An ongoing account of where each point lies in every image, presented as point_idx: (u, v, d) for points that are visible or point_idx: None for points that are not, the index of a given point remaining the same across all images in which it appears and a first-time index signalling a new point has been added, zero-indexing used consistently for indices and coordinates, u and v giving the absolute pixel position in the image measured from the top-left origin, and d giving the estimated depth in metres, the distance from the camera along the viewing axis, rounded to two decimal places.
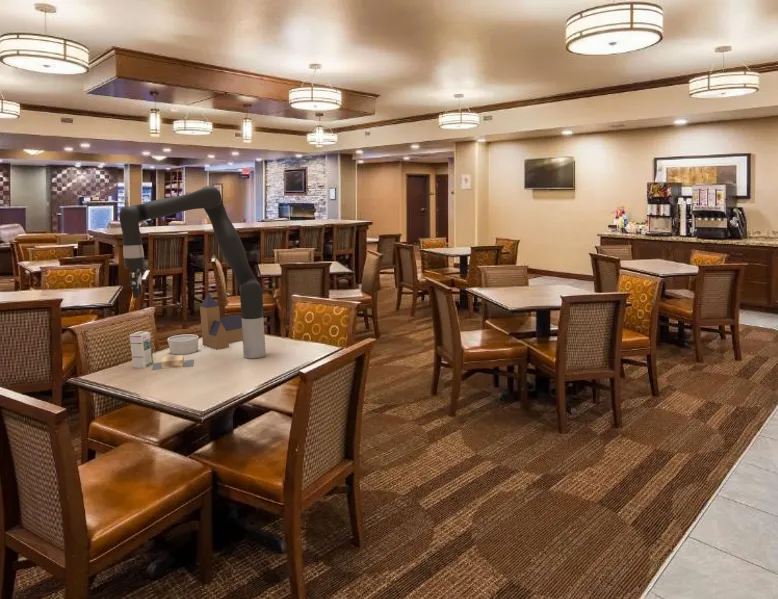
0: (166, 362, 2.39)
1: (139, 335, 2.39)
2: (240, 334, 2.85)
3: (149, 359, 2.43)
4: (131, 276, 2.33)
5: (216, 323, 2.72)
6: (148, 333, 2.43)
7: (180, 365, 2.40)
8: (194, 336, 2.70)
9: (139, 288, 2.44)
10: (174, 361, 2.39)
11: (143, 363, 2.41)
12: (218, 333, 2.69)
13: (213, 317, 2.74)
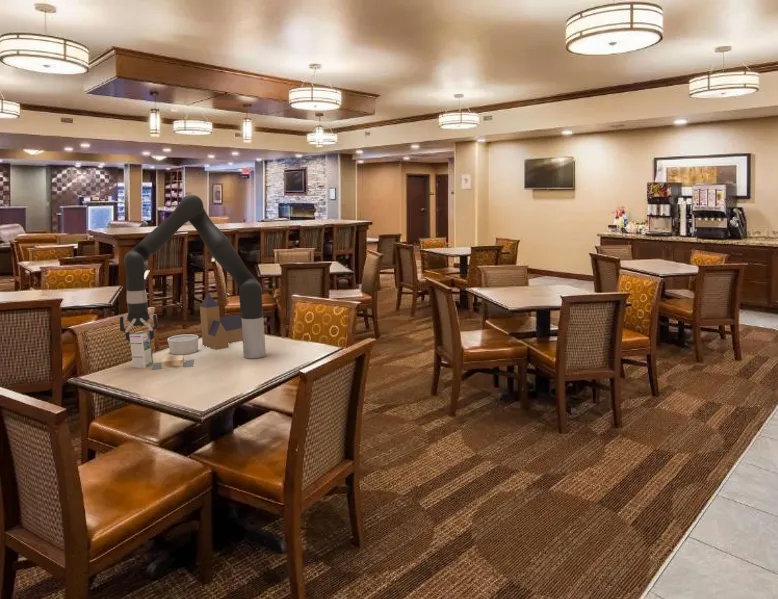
0: (166, 362, 2.39)
1: (139, 335, 2.39)
2: (240, 334, 2.85)
3: (149, 359, 2.43)
4: (156, 318, 2.42)
5: (216, 323, 2.72)
6: (148, 333, 2.43)
7: (180, 365, 2.40)
8: (194, 336, 2.70)
9: (129, 334, 2.41)
10: (174, 361, 2.39)
11: (143, 363, 2.41)
12: (217, 333, 2.70)
13: (212, 317, 2.74)
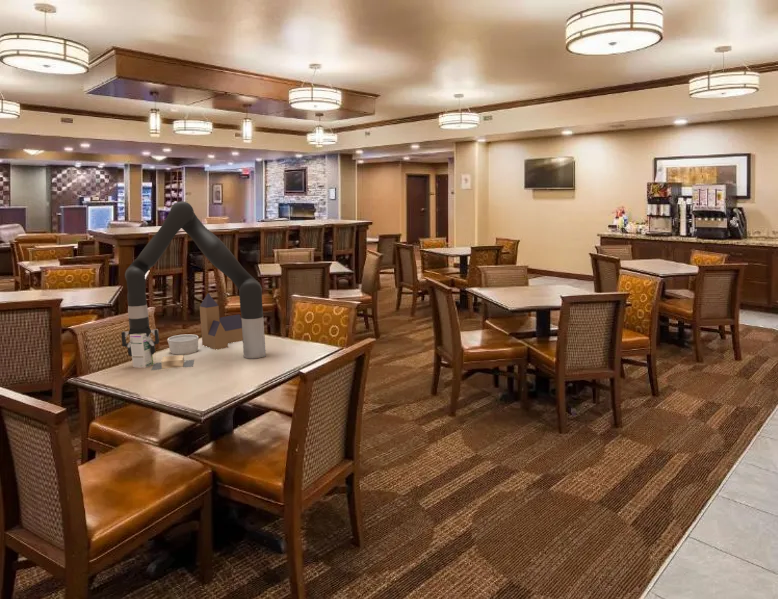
0: (166, 362, 2.39)
1: (139, 335, 2.39)
2: (240, 334, 2.85)
3: (149, 359, 2.43)
4: (157, 332, 2.43)
5: (215, 323, 2.72)
6: None
7: (180, 365, 2.40)
8: (194, 336, 2.70)
9: None
10: (174, 361, 2.39)
11: (143, 363, 2.41)
12: (217, 333, 2.70)
13: (212, 317, 2.74)
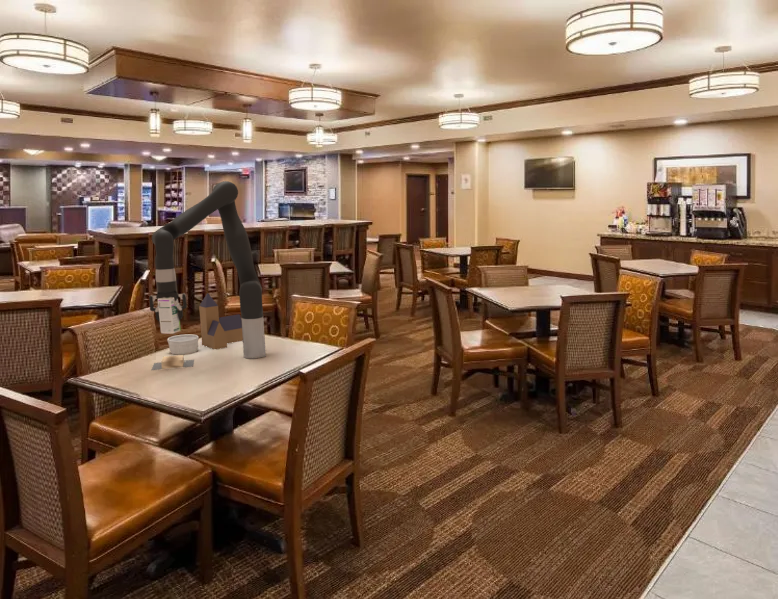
0: (166, 362, 2.39)
1: (167, 299, 2.36)
2: (240, 334, 2.85)
3: (177, 324, 2.40)
4: (185, 297, 2.40)
5: (214, 323, 2.72)
6: None
7: (180, 365, 2.40)
8: (194, 336, 2.70)
9: None
10: (174, 361, 2.39)
11: (171, 328, 2.38)
12: (216, 333, 2.70)
13: (211, 317, 2.74)
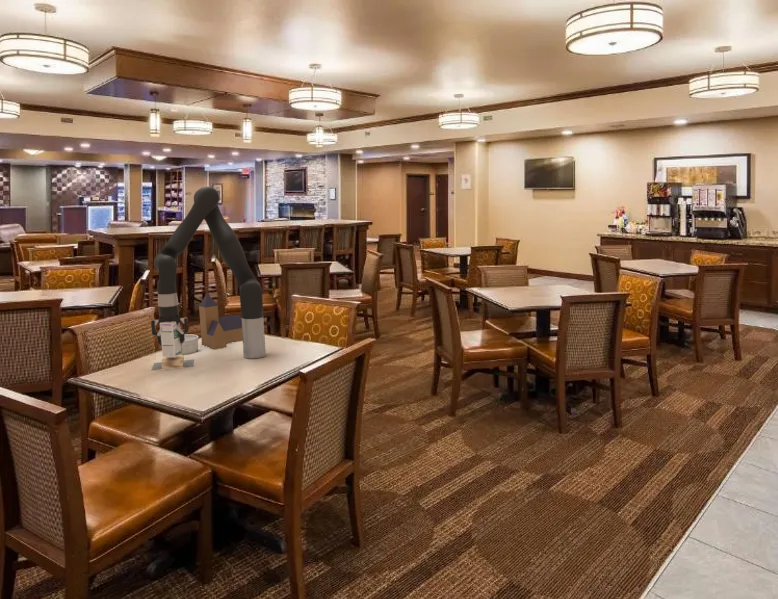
0: (166, 362, 2.39)
1: (169, 323, 2.37)
2: (239, 334, 2.85)
3: (178, 348, 2.42)
4: (187, 321, 2.42)
5: (214, 323, 2.73)
6: None
7: (180, 365, 2.40)
8: (194, 336, 2.70)
9: None
10: (174, 361, 2.39)
11: (173, 351, 2.39)
12: (215, 333, 2.70)
13: (211, 317, 2.74)
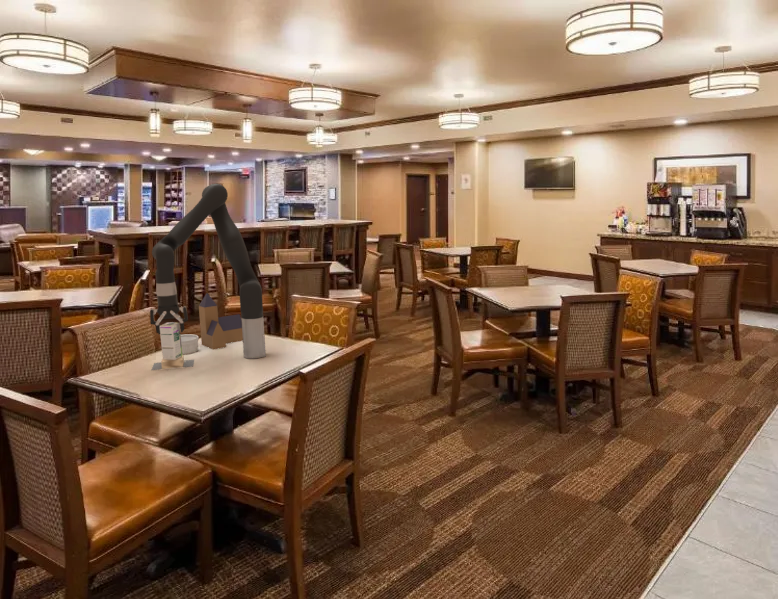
0: (166, 362, 2.39)
1: (169, 326, 2.38)
2: (239, 334, 2.85)
3: (178, 350, 2.42)
4: (186, 310, 2.40)
5: (213, 323, 2.73)
6: (177, 324, 2.42)
7: (180, 365, 2.40)
8: (194, 336, 2.70)
9: None
10: (174, 361, 2.39)
11: (173, 354, 2.39)
12: (214, 333, 2.70)
13: (210, 317, 2.75)
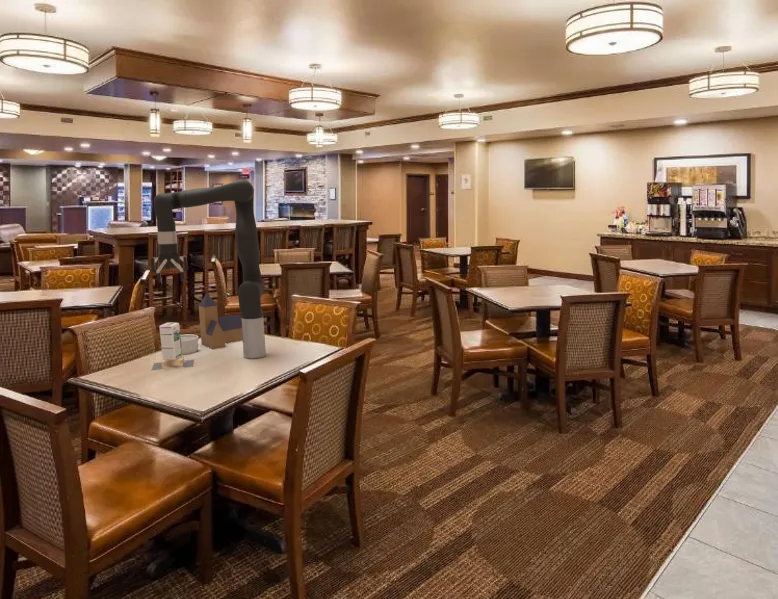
0: (166, 362, 2.39)
1: (169, 326, 2.38)
2: (239, 334, 2.85)
3: (178, 350, 2.42)
4: (186, 259, 2.47)
5: (213, 323, 2.73)
6: (177, 324, 2.42)
7: (180, 365, 2.40)
8: (194, 336, 2.70)
9: (160, 275, 2.46)
10: (174, 361, 2.39)
11: (173, 354, 2.39)
12: (214, 333, 2.70)
13: (210, 317, 2.75)
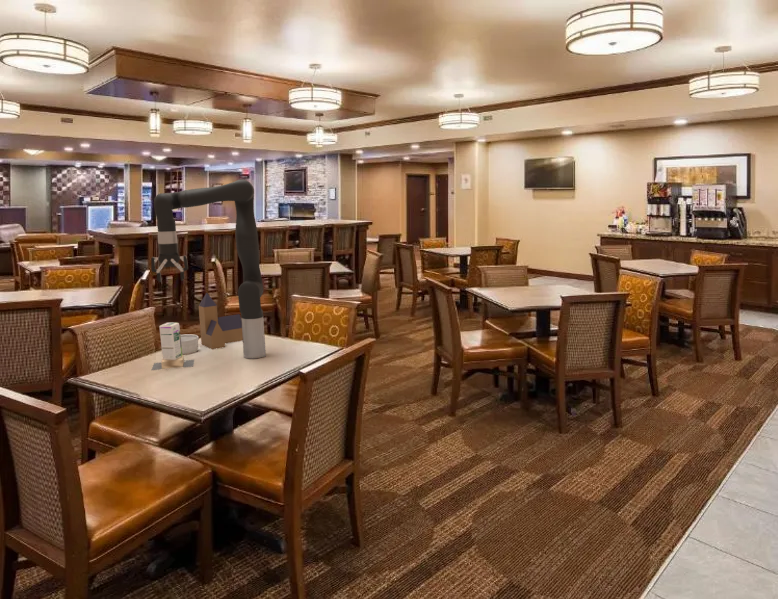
0: (166, 362, 2.39)
1: (169, 326, 2.38)
2: (239, 334, 2.85)
3: (178, 350, 2.42)
4: (186, 259, 2.47)
5: (213, 323, 2.73)
6: (177, 324, 2.42)
7: (180, 365, 2.40)
8: (194, 336, 2.70)
9: (160, 275, 2.46)
10: (174, 361, 2.39)
11: (173, 354, 2.39)
12: (214, 333, 2.70)
13: (210, 317, 2.75)
